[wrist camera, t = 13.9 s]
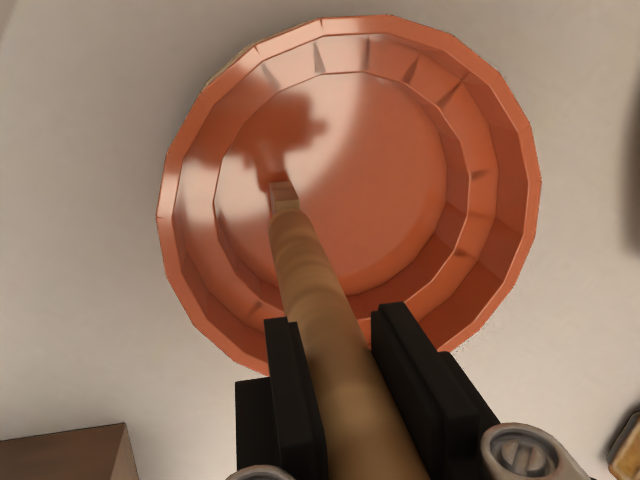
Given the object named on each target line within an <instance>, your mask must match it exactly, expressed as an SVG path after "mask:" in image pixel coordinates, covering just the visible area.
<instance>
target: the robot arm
mask: <svg viewBox="0 0 640 480" xmlns="http://www.w3.org/2000/svg"><path fill="white" fill-rule="evenodd" d="M263 321H264V331H265V340H266V349H267V358H268V368H269V377H264V378H258V379H251V380H244V381H237V382H235V407H236V454H237V472H235V473H233V474H232V475H230V476H229V477H228V478H227V479H226V480H329V471H328V455H327V445H326V438H325V433H324V428H323V424H322V420H321V416H320V412H319V408H318V404H317V400H316V396H315V392H314V388H313V384H312V380H311V376H310V372H309V367H308V363H307V359H306V355H305V351H304V347H303V343H302V339H301V335H300V331H299V327H298V323H297V321H295V322H288V319H287V316H285V317H278V318H270V319H263ZM371 352H372V354H373V356H374V358H375V360H376V362H377V364H378V367H379V369H380V371H381V373H382V375H383V377H384V380H385V382H386V384H387V386H388V388H389V390H390V392H391V395H392V397H393V399H394V401H395V403H396V405H397V407H398V410H399V412H400V414H401V416H402V418H403V420H404V422H405V425H406V427H407V429H408V431H409V433H410V435H411V437H412V440H413V442H414V444H415V446H416V448H417V450H418V452H419V455H420V457H421V459H422V461H423V463H424V465H425V468H426V470H427V472H428V474H429V476H430V478H431V480H596V479H594V478H591V477H589V476H588V475H587V474H586V473H585V471H584V470H583V469H582V468H581V467H580V465H579V464H578V463H577V462H576V461H575V460H574V458H573V457H572V456H571V455H570V454H569V453H568V451H567V450H566V449H565V448H564V447H563V446H562V444H561V443H559V442H558V441H557V440H556V439H555V438H554V437H553V436H552V435H550V434H548V433H547V432H545V431H543V430H541V429H539V428H536V427H533V426H531V425H528V424H521V423H515V422H514V423H502V424H501V423H500V421H499V420H498V419H497V417H496V416H495V415H494V413H493V412H492V410H491V409H490V408H489V406H488V405H487V403H486V402H485V401H484V399H483V398H482V396H481V395H480V394H479V392H478V391H477V389H476V388H475V387H474V385H473V384H472V382H471V381H470V380H469V378H468V377H467V375H466V374H465V373H464V371H463V370H462V368H461V367H460V366H459V364H458V363H457V362H456V360H455V359H454V357H453V356H452V355H451V354H450V353H449V352H447V351H442V352H438V351H437V350H436V349H435V347H434V346H433V344H432V343H431V341H430V340H429V338H428V337H427V335H426V334H425V332H424V331H423V329H422V328H421V326H420V325H419V323H418V322H417V321H416V319H415V318H414V316H413V315H412V313H411V312H410V310H409V309H408V307H407V306H406V304H405V303H404V302H403V301H400V302H392V303H384V304H379V306H378V311H372V312H371Z"/></svg>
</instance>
